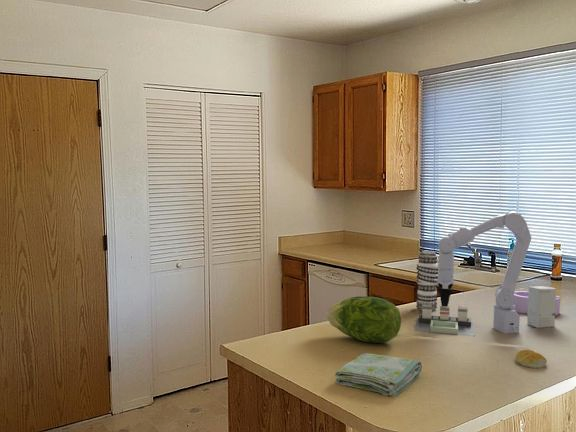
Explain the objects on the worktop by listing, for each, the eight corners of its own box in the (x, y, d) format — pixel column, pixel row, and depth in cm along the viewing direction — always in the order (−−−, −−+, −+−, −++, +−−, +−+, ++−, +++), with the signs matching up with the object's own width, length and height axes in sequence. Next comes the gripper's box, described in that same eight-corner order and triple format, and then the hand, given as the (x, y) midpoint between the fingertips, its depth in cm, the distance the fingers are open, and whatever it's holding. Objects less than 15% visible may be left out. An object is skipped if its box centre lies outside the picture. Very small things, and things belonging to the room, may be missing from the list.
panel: (474, 338, 194) (475, 330, 194) (413, 333, 200) (414, 326, 200) (472, 324, 212) (472, 317, 212) (416, 319, 218) (417, 313, 218)
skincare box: (537, 328, 207) (539, 289, 206) (526, 324, 213) (527, 286, 212) (555, 326, 209) (557, 288, 208) (543, 322, 215) (545, 284, 214)
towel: (331, 385, 152) (332, 367, 151) (366, 363, 169) (366, 347, 169) (393, 400, 141) (394, 381, 141) (423, 375, 159) (423, 358, 159)
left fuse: (431, 323, 211) (431, 307, 210) (422, 322, 212) (422, 306, 211) (431, 320, 214) (431, 305, 213) (422, 320, 215) (422, 304, 214)
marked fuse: (449, 324, 209) (449, 308, 208) (439, 323, 210) (439, 307, 209) (449, 322, 212) (449, 306, 212) (439, 321, 213) (440, 305, 213)
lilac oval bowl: (560, 311, 234) (561, 295, 233) (557, 317, 223) (557, 300, 223) (510, 305, 244) (511, 289, 244) (505, 310, 234) (505, 294, 233)
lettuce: (336, 329, 204) (336, 288, 203) (406, 340, 191) (407, 296, 190) (318, 339, 192) (318, 295, 190) (392, 352, 178) (393, 305, 177)
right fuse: (467, 325, 207) (467, 309, 206) (457, 325, 208) (458, 308, 207) (466, 323, 210) (467, 307, 210) (457, 322, 211) (457, 306, 211)
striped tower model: (410, 310, 233) (412, 251, 231) (423, 306, 240) (425, 249, 238) (429, 314, 227) (430, 254, 225) (442, 310, 233) (443, 252, 231)
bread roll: (531, 358, 174) (532, 345, 174) (551, 368, 166) (551, 354, 165) (508, 359, 172) (509, 347, 172) (527, 369, 164) (527, 356, 163)
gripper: (435, 264, 217) (434, 298, 218) (434, 271, 203) (433, 307, 205) (454, 265, 215) (453, 300, 216) (454, 272, 201) (453, 308, 203)
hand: (444, 303), depth 210 cm, fingers open, 7 cm apart
